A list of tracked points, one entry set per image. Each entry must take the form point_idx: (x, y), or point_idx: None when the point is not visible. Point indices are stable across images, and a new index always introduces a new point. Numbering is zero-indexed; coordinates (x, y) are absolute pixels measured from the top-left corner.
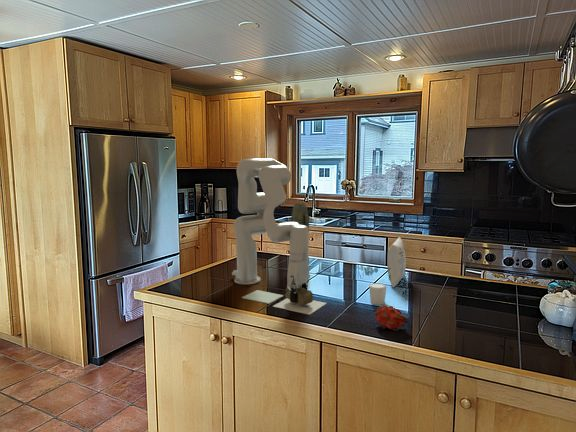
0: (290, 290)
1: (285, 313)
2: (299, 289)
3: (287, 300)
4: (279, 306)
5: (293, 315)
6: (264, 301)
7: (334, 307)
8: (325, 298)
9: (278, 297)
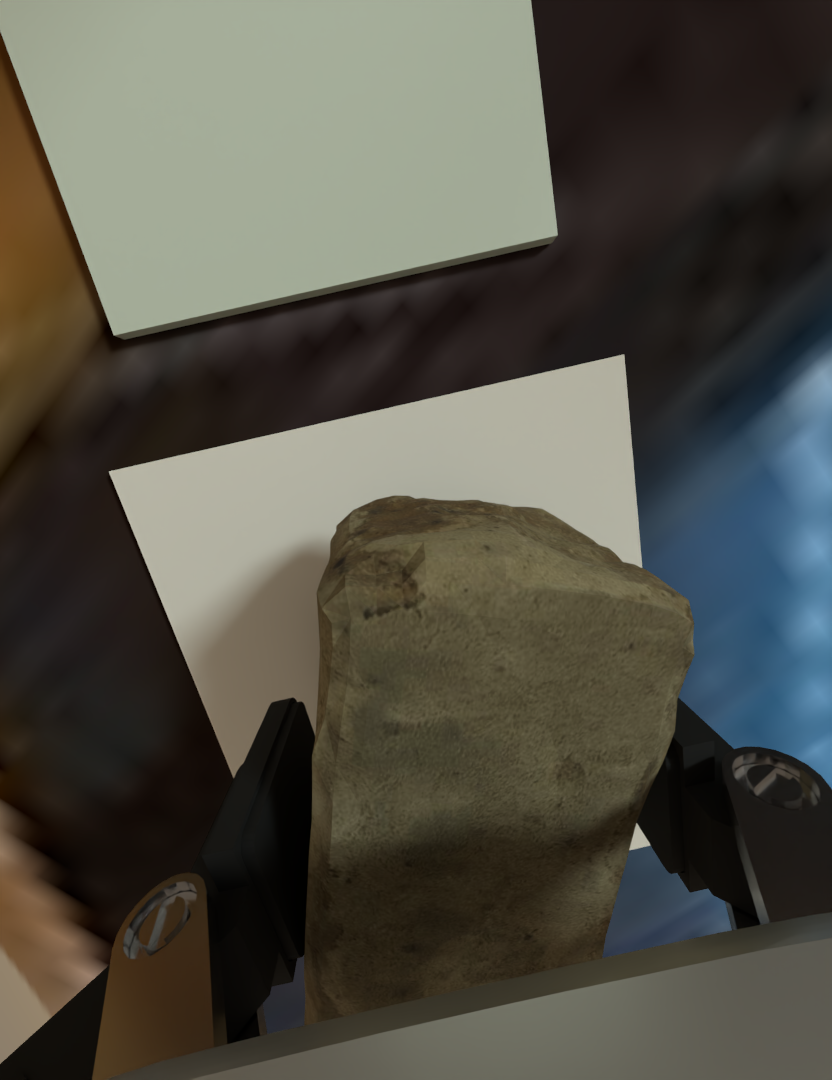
0: (64, 1056)
1: (111, 753)
2: (472, 903)
3: (431, 462)
4: (180, 556)
5: (150, 842)
6: (95, 207)
7: (611, 937)
8: (794, 733)
9: (418, 252)
